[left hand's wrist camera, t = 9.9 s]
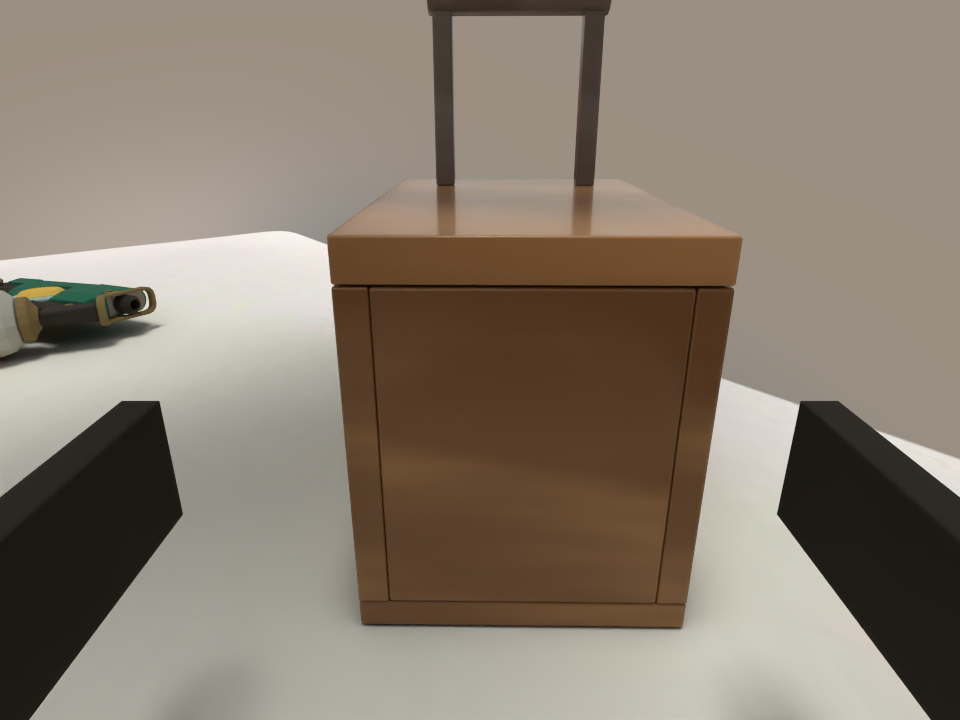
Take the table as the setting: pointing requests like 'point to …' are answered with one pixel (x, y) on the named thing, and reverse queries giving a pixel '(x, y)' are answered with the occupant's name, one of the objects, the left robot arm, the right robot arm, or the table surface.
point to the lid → (527, 203)
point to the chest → (527, 448)
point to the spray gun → (62, 307)
